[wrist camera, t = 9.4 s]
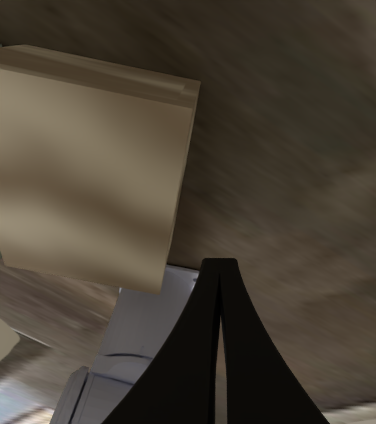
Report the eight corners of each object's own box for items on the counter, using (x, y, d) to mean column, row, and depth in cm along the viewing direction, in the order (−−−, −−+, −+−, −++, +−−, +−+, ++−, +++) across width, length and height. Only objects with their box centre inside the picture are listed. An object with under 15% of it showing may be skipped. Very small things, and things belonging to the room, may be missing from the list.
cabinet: (172, 236, 24) (159, 295, 19) (51, 212, 24) (5, 265, 19) (201, 81, 17) (192, 108, 11) (24, 44, 16) (-66, 55, 11)
